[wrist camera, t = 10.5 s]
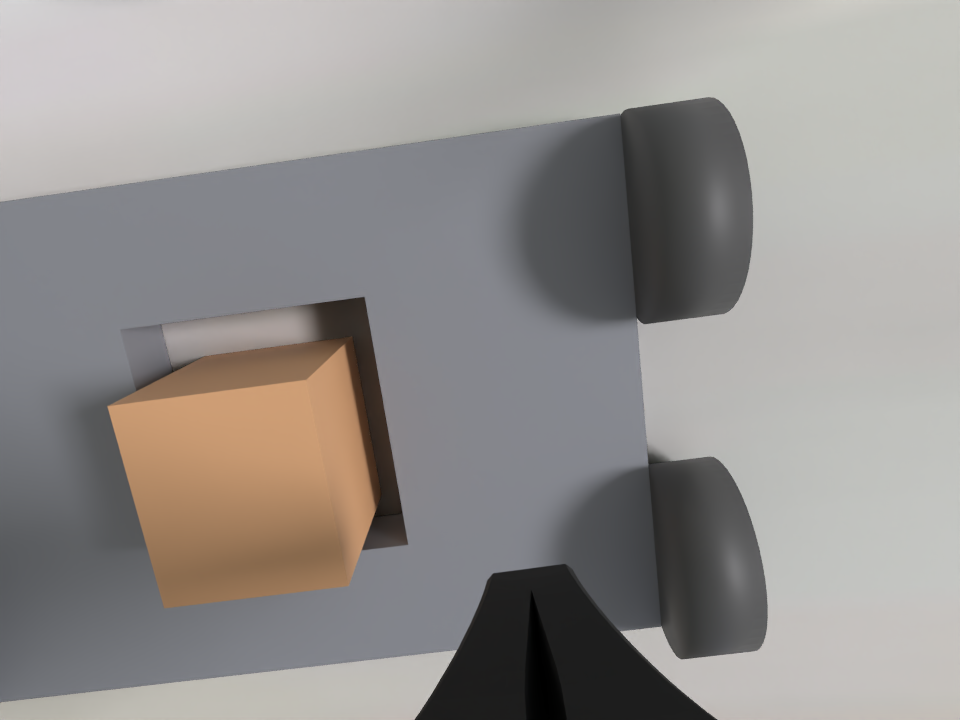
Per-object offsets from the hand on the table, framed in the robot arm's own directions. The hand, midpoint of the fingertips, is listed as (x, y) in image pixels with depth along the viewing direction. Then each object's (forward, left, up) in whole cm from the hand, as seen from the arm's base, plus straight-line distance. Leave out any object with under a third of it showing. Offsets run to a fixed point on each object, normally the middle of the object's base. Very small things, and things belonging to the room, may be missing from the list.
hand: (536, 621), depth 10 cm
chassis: (+2, +7, -9) cm, 11 cm away
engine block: (+1, +6, -9) cm, 11 cm away
